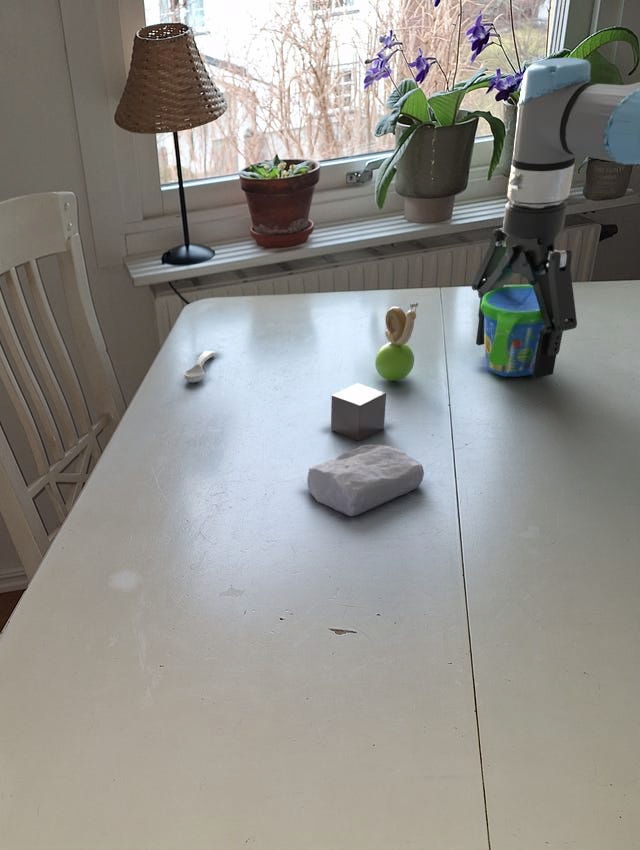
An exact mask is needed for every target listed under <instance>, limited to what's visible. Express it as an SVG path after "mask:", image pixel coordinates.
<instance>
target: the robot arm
mask: <svg viewBox="0 0 640 850" xmlns="http://www.w3.org/2000/svg"><path fill="white" fill-rule="evenodd" d="M591 69H592V68H591V62H590V61H589V60H587V59H583V58H580V57H557V58H547V59H543V60H539V61H535V62H533V63H531V64H530V65H529V66H528V67H527V68H526V70H525V71H524V74H523V79H522V83H521V84H522V85H521V90H520V94H519V100H518V102H517V113H516V125H515V133H514V134H515V135H514V136H515V137H514V145H513V154H512V157H511V167H510V175H509V181H508V187H507V198H508V199H509V200H508V201H507V203H505V207H504V215H503V223H502V227H500V228H496V229H493V230H492V232H491V237H490V242H489V245H488V248H487V250H486V252H485V255H484V257H483V259H482V260H481V263H480V264H479V267H478V270H477V271H476V273H475V276H474V278H473V280H472V282H471V290H472V291H477V296H478V297H479V306H478V314H477V316H478V322H477V323H478V324H477V333H476V340H475V344H476V345H477V346H483V345H485V344H484V314H483V312H482V310H481V303H482V299H483V297H484V295H485V294H486V293H488V292H490V291H492V290H494V289H498V288H502V287H505V285H507V283H508V282H509V280H510V279H511V278H512V277H513V276H514V275H515V274H520V276H522V277H523V278H525V279H526V280H527V283H528V284H529V286H533V288H534V292H535V295H536V298H537V302H538V305H539V309H540V312H541V316H542V319H543V322H544V326H545V329H543V330H540V335H539V341H538V347H537V353H536V359H535V365H534V371H533V374H532V378H534V379H539V378H542V377H547V376H551V375H554V369H555V365H556V360H557V355H559V352H560V351H561V350H560V349H561V344H562V338H563V333H564V332H565V331H569V330H573V329H576V328H577V327H578V321H577V313H576V304H575V296H574V288H573V287H574V286H573V279H572V271H571V267H572V266H571V265H572V256H573V252H572V250H571V249H569V248H568V249H563V250H562V249H561V250H558V249H556V238H557V237H558V236H559V234H561V232H563V230H564V227H565V222H566V221H565V219H566V215H567V211H568V209H567V208H568V203H567V201H566V199H568V198H569V196H570V194H571V187H572V182H573V175H574V169H575V161H576V156H579V157H586V158H589V159H590V158H592V159H598V160H601V161H602V160H603V161H608V162H614V163H617V164H621V165H625V166H630V165H640V81H639V82H635V83H631V84H609V83H598V82H597V83H596V82H592V81H591V79H592V77H591ZM543 272H545V273H543ZM553 319H554V322H553Z"/></svg>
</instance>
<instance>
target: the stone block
mask: <svg viewBox="0 0 640 850" xmlns="http://www.w3.org/2000/svg"><path fill="white" fill-rule="evenodd" d="M424 475H425V471H424V466H423V464H421V463H420V462H419V461H418V460H416V459H415V458H414V457H412V456H409V455H408V454H406V453H405V452H403V451H401V450H399V449H398V448H396V447H393V446H390V445H384V444H366V445H365V444H364V445H361V446H359V447H358V448H355V449H351V450H348V451H345V452H343V453H341V454H339V455H338V456H337V457H335V458H334V459H332V460H328V461H326V462H324V463H320V464H317V465H314V466H312V467H309V468H308V472H307V477H306V482H307V489H308V492H309V494H310V495H311V496H312V497H313V498H314V500H316V502H318V503H320V504H323V505H325V506H327V507H329V508H332V509H334V510H335V511H337V512H339V513H341V514H344V515H346V516H347V517H356V516H359V515H360V514H363V513H366V512H368V511H370V510H372V509H374V508H377V507H379V506H380V505H383V504H385V503H388V502H390V501H393V500H394V499H395V498H397V497H399V496H403V495H406V494H408V493H410V492H411V491H414V490H415V489H416V488H418V487H419V486H420V485H421V484H422V481H423V479H424Z"/></svg>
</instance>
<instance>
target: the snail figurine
mask: <svg viewBox="0 0 640 850" xmlns="http://www.w3.org/2000/svg"><path fill="white" fill-rule="evenodd" d="M418 306H419V303H418V302H414V303H410V304H409V308H410V310H408V311H407V312H406V313H405V312H404V310H403V309H402V308H401V307H399V306H392V307H390V308H389V309H388V310H387V312H386V314H385V319H384V320H385V326H386V327H385V328H386V330H385V331H384V334H385V337H386V339H387V341H388V342H387V343H386V344H384V345H382V347H381V348H379V350H378V352H377V354H376V355H375V361H374V363H375V369H376V372H377V373H378V374H379V376H380V377H382V378H383V379H385V380H387V381H391V382H395V381H400V380H402V379H405V378H406V377H408V375H410V373H411V372H412V370H413V368H414V365H415V364H414V363H415V355H414V352H413V350H412V348H411V347H410V346H409V345H408V344H407V343H408V342H409V340H411V336H412V334H413V331H414V326H415V320H416V318H417V307H418ZM414 307H415V310H413V308H414Z"/></svg>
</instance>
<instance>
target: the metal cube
mask: <svg viewBox="0 0 640 850" xmlns="http://www.w3.org/2000/svg"><path fill="white" fill-rule="evenodd" d="M386 402H387V392H384V391H381V390H379V389H376V388H373V387H370V386H367V385H364V384H361V383H359V382H358V383H357V382H356V383H354V384H353V385H350V386H348V387H346V388H344V389H342V390H340V391H338V392H335V393H333V394H332V395H331V405H330V406H331V408H330V410H331V413H330V431H332V432H335V433H337V434H340V435H342V436H345V437H347V438H350V439H352V440H355V441H357V442H360V441H361V440H363V439H366V438H368V437H369V436H371V435H374V434H375V433H377V432H380V431H381V430H383V429H384V428H385V421H386V420H385V419H386Z"/></svg>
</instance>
